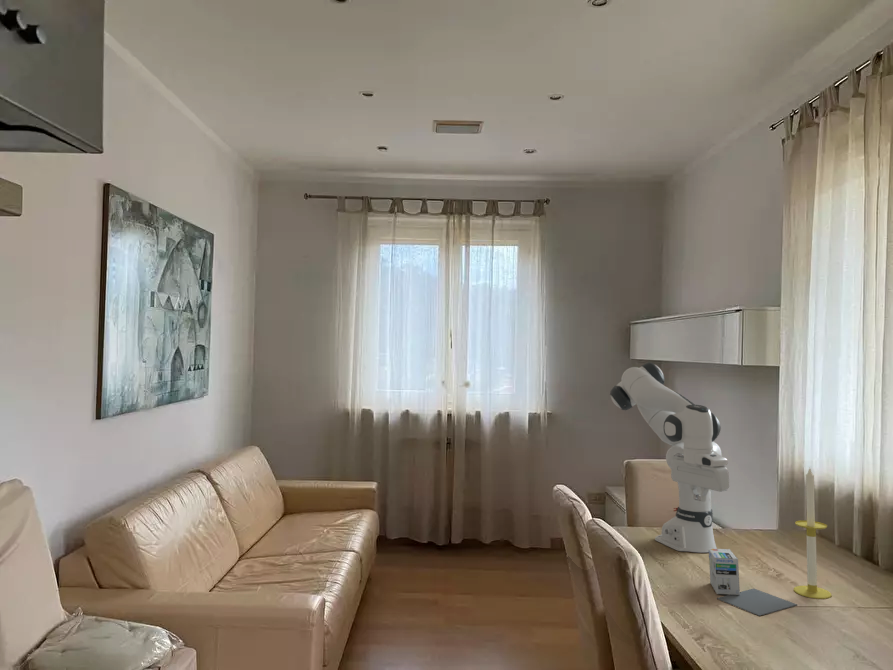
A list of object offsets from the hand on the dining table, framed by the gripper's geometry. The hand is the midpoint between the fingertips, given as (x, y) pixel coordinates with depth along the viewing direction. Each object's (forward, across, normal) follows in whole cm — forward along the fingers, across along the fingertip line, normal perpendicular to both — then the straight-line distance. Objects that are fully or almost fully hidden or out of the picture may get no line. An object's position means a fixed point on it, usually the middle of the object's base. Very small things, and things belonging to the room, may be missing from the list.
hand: (699, 500), depth 205 cm
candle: (+25, +23, +21) cm, 40 cm away
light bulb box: (+25, +9, 0) cm, 27 cm away
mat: (+25, +20, 0) cm, 32 cm away
